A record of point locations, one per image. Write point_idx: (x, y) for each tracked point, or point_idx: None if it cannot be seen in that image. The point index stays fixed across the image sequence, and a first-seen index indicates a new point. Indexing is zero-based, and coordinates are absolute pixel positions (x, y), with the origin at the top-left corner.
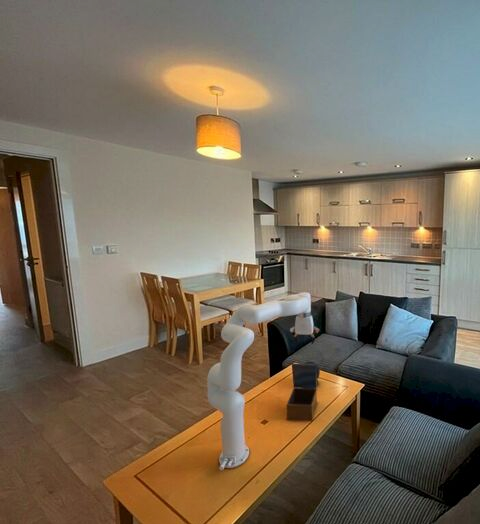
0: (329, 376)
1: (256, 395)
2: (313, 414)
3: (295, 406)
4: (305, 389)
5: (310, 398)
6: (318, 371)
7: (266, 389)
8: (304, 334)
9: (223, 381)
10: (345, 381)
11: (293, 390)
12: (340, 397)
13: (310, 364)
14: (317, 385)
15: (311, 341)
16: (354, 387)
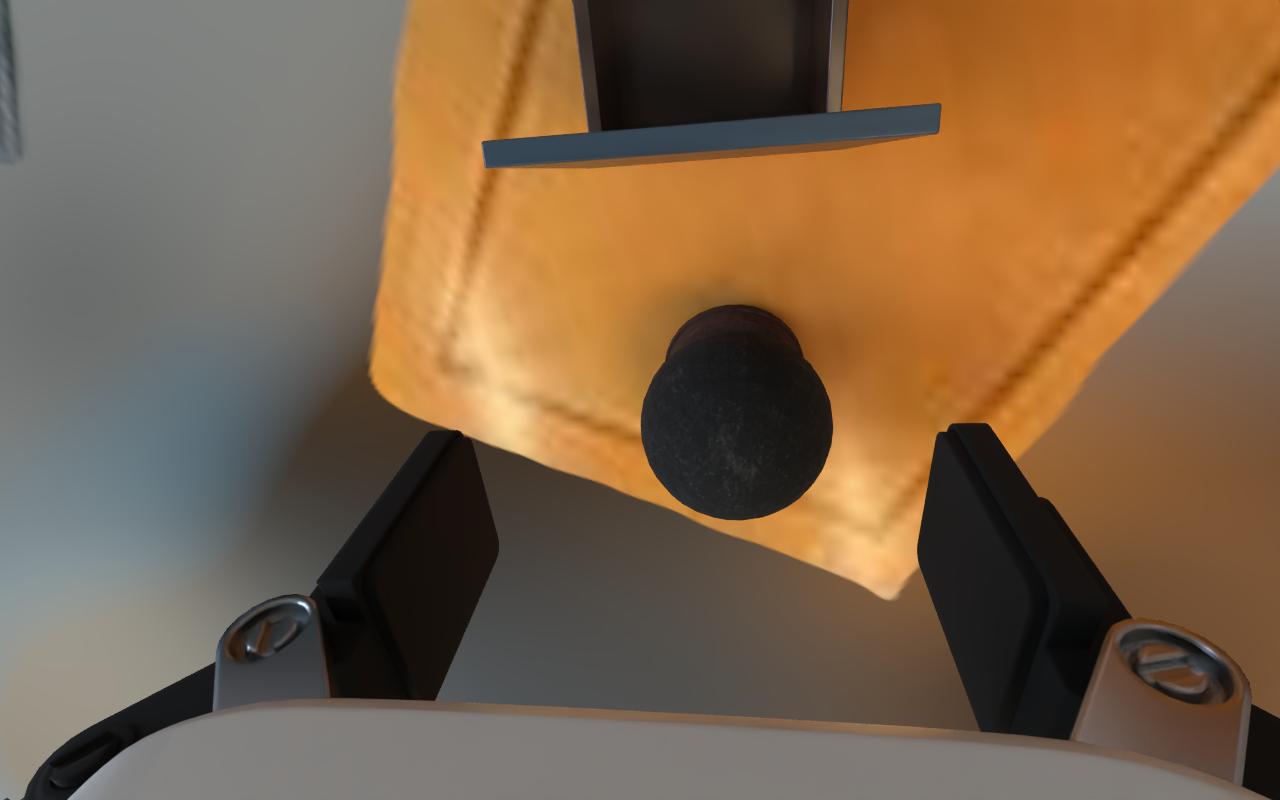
0: (607, 470)
1: (1212, 164)
2: None
3: None
4: None
5: (662, 125)
6: (643, 420)
7: (1114, 266)
8: (607, 710)
9: None
10: (477, 422)
11: (833, 87)
12: (449, 230)
13: (569, 144)
14: (666, 355)
15: (435, 480)
16: (392, 360)
